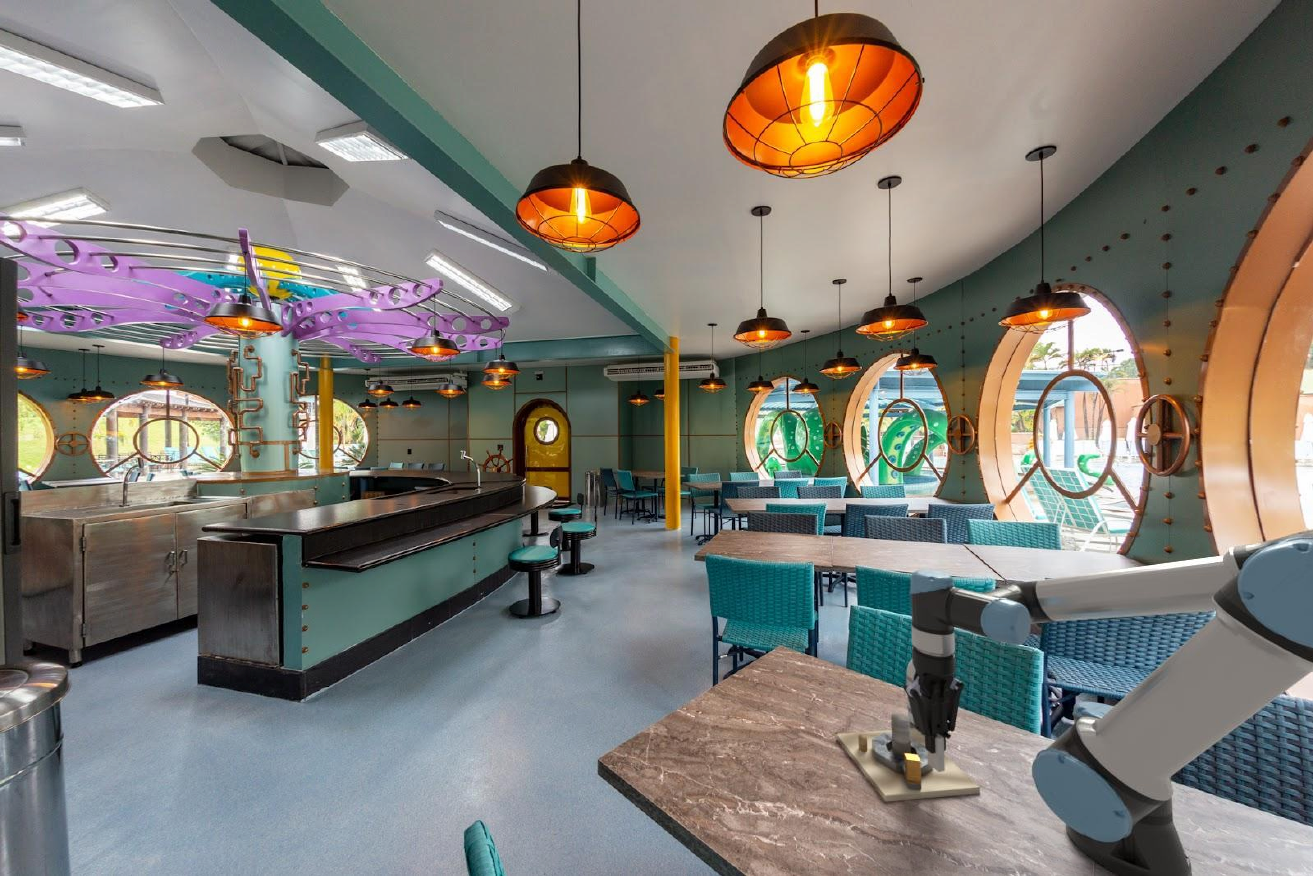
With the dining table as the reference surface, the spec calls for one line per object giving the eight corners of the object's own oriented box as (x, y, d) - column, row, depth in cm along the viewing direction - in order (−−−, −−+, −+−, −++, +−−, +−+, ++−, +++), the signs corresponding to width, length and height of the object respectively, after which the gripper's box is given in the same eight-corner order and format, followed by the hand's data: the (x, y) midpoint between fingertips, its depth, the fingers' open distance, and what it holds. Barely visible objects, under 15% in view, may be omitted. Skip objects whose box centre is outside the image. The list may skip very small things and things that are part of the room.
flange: (869, 738, 109) (868, 713, 109) (922, 745, 106) (921, 720, 106) (884, 784, 94) (883, 756, 94) (946, 793, 91) (945, 764, 91)
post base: (979, 793, 93) (978, 742, 93) (885, 801, 91) (883, 750, 91) (915, 733, 113) (913, 691, 113) (836, 739, 111) (835, 696, 111)
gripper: (943, 638, 99) (946, 750, 99) (892, 645, 96) (895, 760, 96) (975, 653, 92) (978, 773, 91) (921, 661, 89) (924, 786, 88)
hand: (936, 766), depth 93 cm, fingers closed
